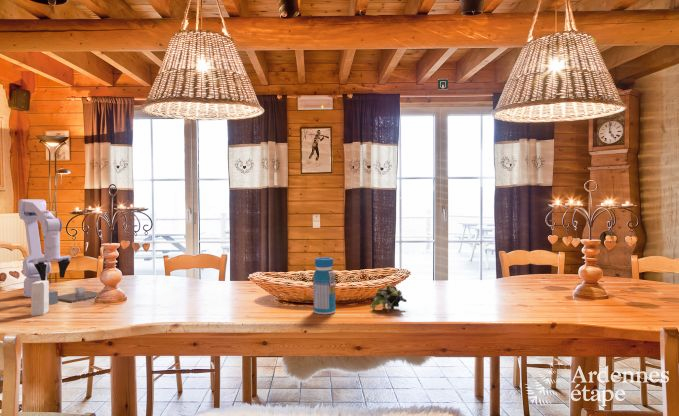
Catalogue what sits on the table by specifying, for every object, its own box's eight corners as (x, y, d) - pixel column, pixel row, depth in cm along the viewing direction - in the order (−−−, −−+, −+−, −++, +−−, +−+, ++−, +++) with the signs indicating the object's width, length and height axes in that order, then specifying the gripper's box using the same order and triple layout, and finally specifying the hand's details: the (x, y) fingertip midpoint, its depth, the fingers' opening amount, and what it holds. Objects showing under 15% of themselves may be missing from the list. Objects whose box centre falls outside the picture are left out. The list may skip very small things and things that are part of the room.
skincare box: (36, 312, 173) (35, 280, 173) (49, 311, 174) (49, 280, 174) (30, 316, 167) (30, 283, 167) (44, 315, 168) (44, 282, 168)
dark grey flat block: (51, 298, 198) (50, 289, 198) (87, 292, 212) (86, 283, 211) (72, 302, 190) (72, 292, 190) (108, 295, 204) (107, 286, 204)
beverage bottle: (315, 315, 163) (315, 260, 163) (311, 310, 171) (310, 257, 171) (338, 313, 165) (337, 259, 165) (332, 308, 173) (332, 256, 173)
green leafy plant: (391, 322, 173) (409, 296, 174) (389, 324, 163) (409, 297, 163) (367, 304, 176) (385, 279, 176) (364, 305, 165) (383, 278, 166)
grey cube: (37, 304, 187) (37, 292, 187) (51, 301, 191) (50, 290, 191) (44, 305, 184) (44, 293, 184) (57, 303, 189) (57, 291, 189)
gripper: (39, 248, 184) (39, 282, 184) (74, 245, 197) (75, 277, 197) (29, 248, 188) (30, 281, 188) (65, 245, 200) (65, 276, 200)
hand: (52, 278), depth 192 cm, fingers open, 7 cm apart
